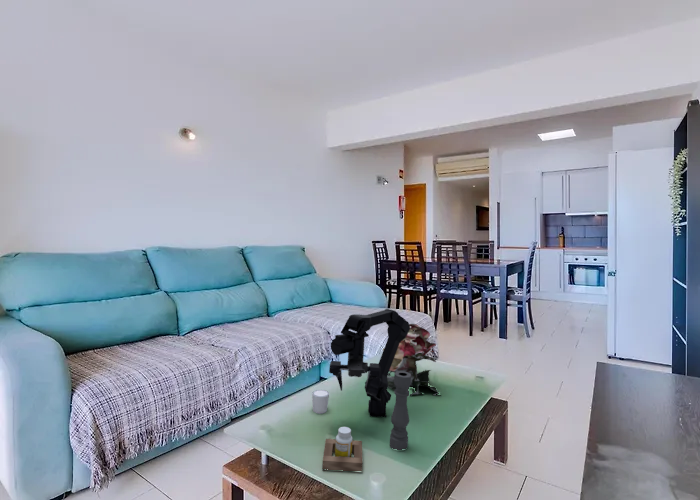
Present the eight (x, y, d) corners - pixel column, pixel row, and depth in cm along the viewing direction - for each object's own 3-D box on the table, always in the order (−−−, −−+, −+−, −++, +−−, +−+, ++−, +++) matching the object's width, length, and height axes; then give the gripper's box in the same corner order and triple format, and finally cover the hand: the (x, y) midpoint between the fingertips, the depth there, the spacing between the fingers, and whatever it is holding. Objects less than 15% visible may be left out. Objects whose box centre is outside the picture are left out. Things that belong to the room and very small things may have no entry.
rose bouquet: (414, 371, 200) (418, 315, 198) (447, 396, 172) (452, 330, 171) (369, 376, 191) (372, 316, 189) (396, 402, 163) (401, 333, 161)
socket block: (361, 449, 127) (361, 440, 127) (361, 472, 115) (362, 463, 115) (325, 447, 128) (325, 438, 127) (322, 470, 116) (322, 460, 115)
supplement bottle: (341, 466, 118) (343, 436, 117) (331, 458, 122) (332, 428, 121) (354, 460, 121) (356, 431, 121) (344, 452, 125) (345, 423, 125)
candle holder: (387, 440, 134) (392, 370, 132) (405, 440, 134) (409, 370, 133) (391, 451, 127) (395, 377, 126) (409, 451, 128) (414, 378, 126)
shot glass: (326, 415, 149) (326, 397, 149) (309, 412, 150) (309, 395, 150) (330, 407, 156) (331, 390, 155) (314, 405, 157) (314, 388, 157)
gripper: (329, 355, 133) (327, 399, 134) (382, 358, 133) (380, 402, 134) (331, 345, 144) (329, 386, 145) (380, 348, 144) (378, 388, 145)
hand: (353, 390), depth 142 cm, fingers open, 9 cm apart
